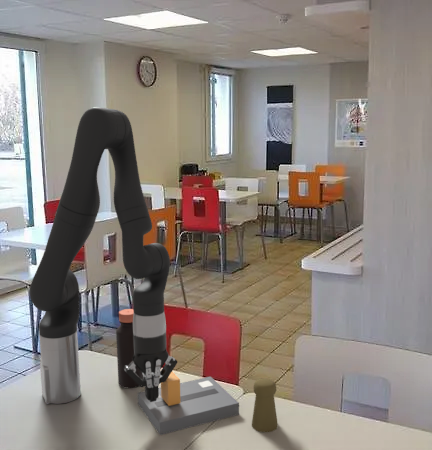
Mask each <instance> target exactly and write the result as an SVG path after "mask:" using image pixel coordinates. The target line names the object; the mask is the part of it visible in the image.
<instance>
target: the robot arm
mask: <svg viewBox="0 0 432 450" xmlns="http://www.w3.org/2000/svg"><path fill="white" fill-rule="evenodd" d="M134 141H135V140H134V133H133V127H132V124H131V121H130V118H129V117H128V116H127V115H126V114H125V112H123V111H122V110H118V109H113V108H107V107H100V106H94V107H93V106H92V107H90V108H88V109H86V110H85V111H84V112H83V114H82V116H81V118H80V119H79V122H78V126H77V130H76V136H75V139H74V145H73V149H72V150H73V151H72V156H71V159H70V160H71V162H70V165H69V169H68V171H67V176H66V179H65V182H64V188H63V190H62V193H61V196H60V200H59V202H58V205H57V208H56V211H55V215H54V219H53V223H52V225H51V229H50V233H49V235H48V239H47V242H46V245H45V249H44V252H43V254H42V258H41V260H40V262H39V265H38V267H37V269H36V271H35V273H34V275H33V279H32V281H31V284H30V286H29V287H30V288H29V296H30V300H31V303H32V304H33V306H34V307H35V309H37V310H39V311H42V312H45V313H44V315H43V317H42V318H41V319H40V322H39V323H38V334H39V345H40V346H39V347H40V348H39V349H40V360H39V365H40V366H39V369H40V381H41V393H42V398H43V400H44V402H45V404H46V405H49V404H56V405H58V404H65V403H70V402H73V401H75V400H76V399H78V398H79V397H80V396H81V394H82V392H81V373H80V358H79V356H80V355H79V342H78V341H79V340H78V323H79V319H80V287H79V281H78V278H77V277H76V274H75V273H74V272H73V271H72V270H71V269H70V268H71V266H72V264H73V261H74V260H75V258H76V256H77V255H78V253H79V252H80V250H81V249H82V248H83V246H84V245H85V243H86V241H87V240H88V239H89V236H90V235H91V233H92V231H93V228H94V226H95V222H96V220H97V217H98V213H99V210H100V206H101V196H100V189H99V185H98V183H99V182H98V170H99V166H100V162H101V159H102V157H103V154H104V152H105V150H108V153H109V155H110V157H111V160H112V162H113V167H114V186H113V187H114V188H113V205H114V210H115V213H116V217H117V219H118V224H119V226H120V229H121V244H122V245H121V247H122V263H123V267H124V269H125V272H126V273H127V274H128V275H129V276H130V277H132V278H133V279H135V280H141V279H142V280H143V281H142V282H141V284H138V286H136V287H135V288H134V289H133V293H132V303H133V305H132V306H133V307H132V309H133V311H134V315H133V339H134V355H133V358H132V362H131V363H130V364H129V365H126V366H124V370H125V371H126V373H127V374H128V375H129V376H130V377H131V378H132V379H133V380H134V381H135V382H136V383H137V384H138V385H139V386H138V387H141V388H144V391H145V396H146V398H147V399H148V400H149V401H150V402H153V401H156V400H157V399H156V398H158V396H159V389H158V388H159V385H161V383H162V382H165V381H166V380H167V378H168V377H169V375H170V374H171V372H174V369H175V367H176V366H177V364H178V360H177V359H176V358H175V357H174V356H170V354H169V352H168V350H167V324H166V323H167V322H166V321H167V320H166V314H165V296H164V295H165V291H166V290H165V289H166V286H167V282H168V277H169V272H170V268H171V258H170V255H169V252H168V250H167V248H166V247H165V246H164V245H163V244H162V243H159V242H153V243H148V244H144V236H145V235H147V234H148V233H150V232H151V231H152V230H153V223H152V218H151V215H150V213H149V209H148V206H147V202H146V199H145V196H144V192H143V188H142V185H141V181H140V173H139V167H138V162H137V154H136V148H135V142H134ZM135 366H137V367H138V368H139V369H140V371H141V372H142V374H143V378H144V379H141V378H140V377H139V376H138V375H137V374H136V373H135V372H136V369H135Z"/></svg>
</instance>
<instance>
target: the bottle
mask: <svg viewBox="0 0 432 450" xmlns="http://www.w3.org/2000/svg"><path fill="white" fill-rule="evenodd" d="M133 315H134V311H133V308H125V309H121V310H119V311H118V321H119V324H120V325H119V326H118V327H117V328H116V330H115V335H116V336H115V337H116V356H117V362H116V363H117V381H118V385H119V386H120V387H122V388H125V389H133V388H134V389H135V388H138V387H140V386H139V385H138V384H137V383H136V382H135V381H134V380H133V379H132V378H131V377H130V376H129V375H128V374H127V373H126V371H125V370H124V366H126V365H129V364H130V363H131V362H132V358H133V355H134V339H133ZM135 369H136V372H135V373H136V374H137V375H138V376H139V377H140V378H141V379H144V378H143V374H142V372H141V371H140V369H139V368H138V367H137V366H135Z"/></svg>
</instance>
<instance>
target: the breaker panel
mask: <svg viewBox="0 0 432 450" xmlns="http://www.w3.org/2000/svg"><path fill="white" fill-rule="evenodd" d="M158 389H159V396H158V398H156V399H157V400H156V401H153V402H150V401H149V400H148V399H147V398H146V396H145V390H144V391H138V392H136V393H137V405H138V406H139V407H140V409H141V410H142V412H143V413H144V415H145V416H146V417H147V419H148V420H149V421H150V423H151V425H152V426H153V427H154V429H155V430H156V431H157V433H158V434H159V436H162V435H165V434H168V433H174V432H176V431H181V430H184V429H188V428H189V429H190V428H192V427H196V426H201V425H203V424H207V423H212V422H214V421H215V422H216V421H219V420H224V419H226V418H231V417H235V416H238V415H240V402H239V401H237V399H236V398H234V397H233V396H232V395H231V394H230V393H229V392H228V391H227V390H226V389H225V388H224V387H222V386H221V384H220V383H218V382H217V381H216V380H215V379H214V378H213V377H212V376H206V377H202V378H198V379H194V380H192V379H191V380H187V381H184V382H180V402H181V403H179V404H175V405H170V406H168V404H167V403H166V402H165V401H164V400H163V398H162V397H161V387H158Z"/></svg>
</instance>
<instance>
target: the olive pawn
mask: <svg viewBox="0 0 432 450" xmlns="http://www.w3.org/2000/svg"><path fill="white" fill-rule="evenodd" d="M276 392H277V385H276V383H275V381H274V380H273V379H271V378H267V377H264V378H258V379H256V380H255V382H254V383H253V393H254V394H255V397H254V398H255V399H254V405H253V413H252V420H251V427H252V430H253V429H254V430H255V431H257V432H260V433H271V432H272V433H273V432H274V431H276V430H278V427H279V423H278V416H277V408H276V403H275V394H276Z"/></svg>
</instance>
